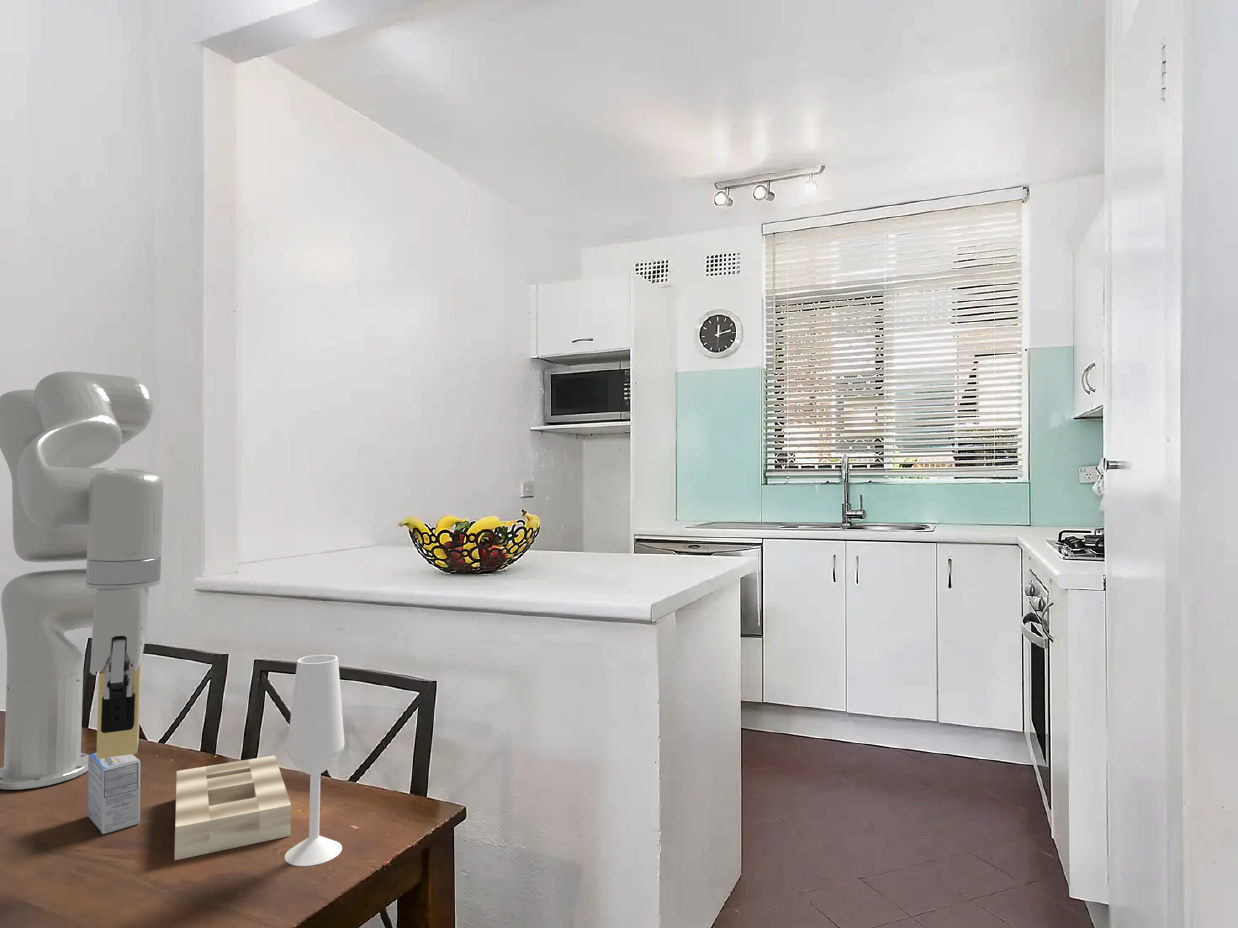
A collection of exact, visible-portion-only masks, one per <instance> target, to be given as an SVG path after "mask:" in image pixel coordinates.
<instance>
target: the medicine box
mask: <svg viewBox="0 0 1238 928" xmlns="http://www.w3.org/2000/svg"><path fill="white" fill-rule="evenodd" d="M88 755H89V761H88V771H87V817H88V818H89V819H90V820H91V822H92V823H93V824H94V825H95V826H96V828H97V829H98V830H99V832H100V833H101V834H102V835H105V834H109V833H113V832H114V833H115V832H116V831H120V830H123V829H127V828H130V827H133V826H138V825H139V824H140V822H141V760H140V759H139V758H137V757H136V756H135V754H130V755H123V756H116V757H109V758H101V759H96V752H94V753H90V754H88Z"/></svg>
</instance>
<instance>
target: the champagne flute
mask: <svg viewBox="0 0 1238 928" xmlns="http://www.w3.org/2000/svg"><path fill="white" fill-rule="evenodd" d="M339 667H340V666H339V657H338V656H337V655H334V654H313V655H307V656H303V657H301V658H299V659H297V662H296V669H295V678H294V686H293V694H292V703H291V704H292V705H291V710H290V712H291V713H290V719H289V728H288V736H287V745H286V753H287V756H288V759H290V761H291V762H292V764H294V766H295V767H297V768H298V769H299V770H301V771H302V772H303V773H304V774H307V775H309V776H310V778H309V779H310V780H309V783H310V784H309V818H308V819H309V820H308V821H309V823H308V827H309V828H308V837H307V838H306V839H304V840H302V841H301V842H299V843H298V844H296V845H294V846H293V847H292V848H290V849H288V851H287V852H286V853H285V854H284V861H285V862H286V863H287V864H290V865H292V866H295V867H296V866H297V867H309V866H316V865H321V864H324V863H326V862H329V861H331V860H333V859H335V858H336V857H338V856H339V855H340V854H341V852H342V850H343V847H342V844H341V843H340V842H339V841H336V840H334V839H330V838H328V837H324V836H323V835H320V812H321V811H320V810H321V774H323V773H324V772H326V770H328V769H329V768H330V767H331V766H332V764H334V763H335V762H336V761H337V759H338V758H339V757H340V756H341V754H342V752H343V750H344V748H345V733H344V732H345V731H344V718H343V707H342V706H343V705H342V694H341V693H342V692H341V681H340V678H341V677H340V669H339Z"/></svg>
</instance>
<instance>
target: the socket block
mask: <svg viewBox="0 0 1238 928" xmlns="http://www.w3.org/2000/svg"><path fill="white" fill-rule="evenodd" d="M175 781H176V782H175V783H176V785H175V787H176V788H175V789H176V790H175V793H176V794H175V822H174V823H175V824H174V825H175V828H174V829H175V830H174V831H175V832H174V861H177V860H179V861H180V860H183V859H188V858H193V857H198V856H201V855H202V856H203V855H206V854H212V853H216V852H221V851H225V850H229V849H235V848H239V847H244V846H249V845H253V844H257V843H259V844H260V843H262V842H263V843H264V842H267V841H272V840H278V839H281V838H288V837H291V835H292V833H291V830H292V829H291V827H292V826H291V825H292V823H291V822H292V804H291V800H290V797H289V794H288V791H287V788H286V784H285V783H284V782H285V781H284V779H283V776H282V773H281V770H280V767H279V763H278V761H277V757H276V755H269V756H263V757H262V756H261V757H256V758H250V759H244V760H238V761H232V762H231V761H230V762H225V763H220V764H219V763H218V764H212V765H207V766H206V765H205V766H200V767H194V768H188V769H181V770H180V769H179V770H176V780H175Z"/></svg>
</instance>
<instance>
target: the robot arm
mask: <svg viewBox="0 0 1238 928" xmlns="http://www.w3.org/2000/svg"><path fill="white" fill-rule="evenodd" d="M153 405H154V404H153V399H152V396H151V393H150V391H149V389H148V387H147V386H146V385H145V383H143V382H141V380H139V379H137V378H136V377H135V378H133V377H131V376H126V375H125V376H122V375H114V374H104V373H103V374H102V373H95V372H94V373H93V372H84V371H58V372H53V373H51V374H49V375H46V376H45V377H43V378H42V379H40V380H39V382H38V383H37V384H36V386H35V388H34V389H33V388H32V389H18V390H17V389H16V390H11V391H8V392H5V393H3V394H2V395H0V451H1V453H2V455H3V458H4V460H5V462H6V464H7V466H8V470H9V472H10V476H11V484H12V485H11V488H12V489H11V492H12V493H11V494H12V497H11V498H12V499H11V501H12V506H11V507H12V539H13V540H12V541H13V547H14V550H15V553H16V555H17V556H18V558H20V559H21V560H22V561H25V562H30V563H57V562H58V563H60V562H62V563H63V562H76V561H86V568H69V569H67V568H66V569H54V570H42V571H41V570H39V571H32V572H28V573H23V574H21V575H17V576H16V577H14V578H12V579H11V580H10V581H9V582H8V583H6V584H5V586H4V588H3V589H2V593H1V599H0V603H1V612H2V618H3V623H4V624H3V626H4V632H5V640H6V686H5V687H6V691H5V694H6V695H5V697H6V698H5V719H4V720H5V722H4V723H5V726H4V754H3V755H4V758H3V766H2V767H1V766H0V790H5V791H6V790H7V791H8V790H9V791H15V790H27V789H28V790H29V789H35V788H36V789H37V788H40V787H47V786H51V785H52V786H53V785H55V784H59V783H62V782H65V781H68V780H69V781H70V780H71V779H74V778H77V777H79V776H81V775H83V774H85V773H86V772H88V761H89V755H90V754H86V753H83V752H82V726H83V725H82V723H83V687H84V656H83V653H82V651H81V650H80V649H79V647H77V646H76V645H75V643H73V642H72V641H71V640H69V639H68V638H67V637H66V636H65V634H64V633H65V632H68V631H72V630H73V631H74V630H77V629H78V630H79V629H87V628H92V629H91V631H92V634H91V649H90V651H91V653H90V663H89V664H90V665H89V673H90V674H91V675H92V676H97V674H98V673H100V671H102V670H103V668H104V666H105V665H106V667H105V687H104V698H102V716H101V732H102V733H109V732H117V731H125V730H131V729H132V728H133V727H134V708H135V695H132V690H133V673H134V671H135V670H137V669H138V668H139V667H140V663H141V664H142V658H143V654H144V649H145V642H146V636H147V635H146V634H147V624H148V607H149V587H154V586H157V585H160V584H161V575H162V574H161V573H162V571H161V570H162V568H161V567H162V540H163V538H162V537H163V515H164V514H163V511H164V510H163V508H164V482H163V479H162V477H161V476H160V475H159V474H157V473H154V472H150V471H146V470H143V469H139V468H138V469H137V468H117V467H116V468H112V467H111V468H107V467H96V466H97V465H100V464H102V463H104V462H106V461H107V460H108V461H109V460H110V459H111V458H113V456H115V454H116V453H117V452H118V451H119V449H120V448H121V445H124V444H126V443H128V442H129V441H130V440H132V439H133V438H135V437H136V436H138V435H139V434H140V433H142V432H144V430H145V429H146V428H147V427H148V425H149V424H150V422H151V419H152V417H153V410H154V409H153ZM94 466H95V467H94ZM129 664H130V667H129V669H128V670H124V665H129ZM110 666H111V671H110ZM124 675H128V677H127V678H124Z"/></svg>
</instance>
